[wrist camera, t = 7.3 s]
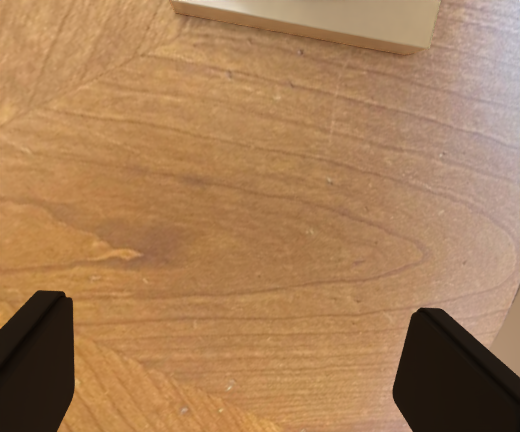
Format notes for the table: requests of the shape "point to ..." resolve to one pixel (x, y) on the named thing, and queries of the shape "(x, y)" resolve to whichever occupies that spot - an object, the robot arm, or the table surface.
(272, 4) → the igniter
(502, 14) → the table surface
